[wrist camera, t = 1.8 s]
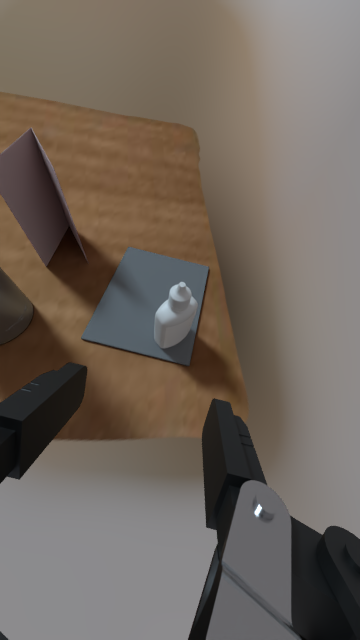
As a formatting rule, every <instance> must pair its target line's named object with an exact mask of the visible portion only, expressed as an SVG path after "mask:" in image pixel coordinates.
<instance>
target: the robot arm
mask: <svg viewBox="0 0 360 640" xmlns="http://www.w3.org/2000/svg"><path fill="white" fill-rule="evenodd" d="M32 316H33V306H32V303H31V302H30V300H29V299H28V298H27V297H26V296H25V294H24V293H23V292H22V291H21V290H20V289H19V288H18V287H17V286H16V284H15V283H14V282H13V281H12V280H11V279H10V278H9V276H8V275H7V274H6V273H5V272H4V271H3V270H2V269H1V268H0V344H3V343H6V342H8V341H10V340H12V339H13V338H15V337H17V336H18V335H19V334H20V333H22V332H23V331H24V330H25V329H26V327H27V326H28V325H29V323H30V321H31V319H32ZM86 376H87V367H86V366H83V365H79V364H75V363H71V362H69V363H67V364H66V365H65V366H63V367H62V368H61V369H59V370H58V371H56V370H52V371H50V372H47V373H44V374H42V375H40V376H38V377H37V378H35V379H34V380H33V381H31V383H28V384H27V385H25V386H24V387H22V389H20V390H18V391H17V392H15V393H14V394H12V395H11V396H10V397H8V398H7V399H5V400H4V401H2V402H1V403H0V483H1V482H2V481H3V480H4V479H5V478H6V477H11V478H15V479H20V478H21V477H22V476H23V475H24V473H25V472H26V471H27V470H28V469H29V467H30V466H31V465H32V464H33V463H34V461H35V460H36V459H37V458H38V456H39V455H40V454H41V453H42V452H43V450H44V449H45V448H46V447H47V445H48V444H49V443H50V442H51V441H52V440H53V438H54V437H55V436H56V435H57V433H58V432H59V431H60V430H61V429H62V427H63V426H64V425H65V424H66V423H67V421H68V420H69V419H70V418H71V417H72V415H73V414H74V413H75V412H76V410H77V409H78V408H79V406H80V404H81V402H82V400H83V397H84V391H85V383H86ZM202 451H203V471H204V488H205V489H204V491H205V511H206V527H207V528H211V529H215V530H217V539H218V544H217V546H216V549H215V551H214V555H213V558H212V561H211V565H210V568H209V572H208V575H207V578H206V581H205V585H204V588H203V592H202V595H201V598H200V601H199V605H198V608H197V611H196V615H195V618H194V621H193V625H192V628H191V631H190V634H189V638H188V640H360V539H359V538H357V537H356V536H355V535H354V534H352V533H350V532H349V531H347V530H345V529H344V528H340V527H338V526H330V527H328V528H327V529H326V530H325V532H324V534H323V535H321V534H319V533H318V532H316V531H315V530H313V529H311V528H309V527H308V526H306V525H305V524H303V523H301V522H299V521H298V520H296V519H295V518H293V517H292V516H290V514H289V512H288V509H287V508H286V505H285V504H284V502H283V501H282V499H281V498H280V497H279V496H278V495H277V493H276V492H275V491H274V490H272V489H271V488H270V487H268V486H267V483H266V480H265V477H264V474H263V471H262V468H261V466H260V463H259V460H258V457H257V454H256V451H255V448H254V445H253V443H252V440H251V437H250V434H249V431H248V428H247V426H246V424H245V423H244V422H243V420H242V419H241V418H240V417H239V416H235V415H233V411H232V408H231V404H230V402H226V401H222V400H218V399H213V400H212V402H211V405H210V408H209V411H208V414H207V417H206V420H205V423H204V427H203V432H202ZM0 640H8V639H7V638H6V637H5V636H4V635H3V634H2V633H1V632H0Z"/></svg>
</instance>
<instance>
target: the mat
mask: <svg viewBox="0 0 360 640" xmlns="http://www.w3.org/2000/svg"><path fill="white" fill-rule="evenodd" d="M208 269H209V267H207V266H203V265H199V264H195V263H191V262H187V261H183V260H179V259H175V258H171V257H167V256H163V255H159V254H155V253H151V252H147V251H143V250H139V249H135V248H131V247H128V249H127V251H126V253H125V254H124V256H123V258H122V260H121V262H120V264H119V266H118V268H117V270H116V272H115V274H114V276H113V277H112V279H111V281H110V283H109V285H108V287H107V289H106V291H105V293H104V295H103V297H102V299H101V301H100V302H99V304H98V306H97V308H96V310H95V312H94V314H93V316H92V318H91V320H90V322H89V324H88V325H87V327H86V329H85V331H84V333H83V335H82V337H81V339H83V340H87V341H91V342H95V343H99V344H103V345H107V346H111V347H115V348H119V349H123V350H127V351H131V352H135V353H139V354H143V355H147V356H151V357H155V358H159V359H162V360H166V361H170V362H174V363H178V364H182V365H186V366H189V365H190V360H191V355H192V350H193V345H194V339H195V334H196V329H197V324H198V319H199V314H200V309H201V304H202V299H203V294H204V289H205V284H206V279H207V274H208ZM180 282H184V283H185V284H186V286H187V287H188V288H189V289H190V290H191V293H192V297H193V298H194V299H195V300H196V301H197V303H198V308H197V311H196V314H195V317H194V320H193V322H192V325H191V328H190V331H189V333H188V334H187V336H186V337H185V338H184V339H183V340H182V341H181V342H179V343H178V344H176V345H174V346H172V347H169V348H161V347H160V346H159V345H158V344H157V343H156V341H155V339H154V325H155V314H156V312H157V310H158V309H159V307H160V306H161V305H162V304H163V303H164V302H165V301H166V300H168V299H169V292H170V289H171V288H172V287H173V286H175V285H178V284H179V283H180Z"/></svg>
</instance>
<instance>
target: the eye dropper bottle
mask: <svg viewBox="0 0 360 640" xmlns="http://www.w3.org/2000/svg"><path fill="white" fill-rule="evenodd" d="M197 308H198V303H197V301H196V300H195V299H194V298H193V297H192V293H191V290H190V289H189V288H188V287H187V286H186V284H185V283H184V282H180V283H179V284H178V285H175V286H173V287H172V288H171V289H170V292H169V299H168V300H166V301H165V302H164V303H163V304H162V305H161V306H160V307H159V309H158V310H157V312H156V314H155V325H154V339H155V341H156V343H157V344H158V345H159V346H160V347H161V348H169V347H172V346H174V345H176V344H178V343H179V342H181V341H182V340H183V339H184V338H185V337H186V336H187V334H188V333H189V331H190V328H191V325H192V322H193V320H194V317H195V314H196V311H197Z"/></svg>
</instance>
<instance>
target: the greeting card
mask: <svg viewBox="0 0 360 640" xmlns="http://www.w3.org/2000/svg"><path fill="white" fill-rule="evenodd" d="M0 194H1V195H2V197H3V198H4V200H5V202H6V203H7V205H8V206H9V208H10V210H11V211H12V213H13V214H14V216H15V218H16V219H17V221H18V223H19V224H20V226H21V227H22V229H23V231H24V232H25V234H26V235H27V237H28V239H29V240H30V242H31V243H32V245H33V247H34V248H35V250H36V251H37V253H38V255H39V256H40V258H41V259H42V261H43V263H44V264H45V266H46V267H47V265H48V263H49V261H50V259H51V258H52V256H53V254H54V252H55V250H56V249H57V247H58V245H59V243H60V241H61V240H62V238H63V236H64V234H65V232H66V231H67V229H68V227H69V226H70V228H71V230H72V232H73V234H74V236H75V238H76V240H77V242H78V244H79V246H80V248H81V250H82V252H83V254H84V256H85V258H86V255H85V252H84V250H83V247H82V244H81V241H80V239H79V236H78V233H77V230H76V228H75V225H74V222H73V220H72V217H71V214H70V211H69V209H68V206H67V203H66V200H65V198H64V195H63V192H62V189H61V187H60V184H59V181H58V178H57V176H56V173H55V170H54V168H53V166H52V164H51V163H50V161H49V159H48V157H47V155H46V154H45V152H44V150H43V148H42V146H41V144H40V143H39V141H38V139H37V137H36V135H35V134H34V132H33V130H32V128H30V129H29V130H27V131H26V132H25V133H24V134H23V135H22V136H21V137H19V138H18V139H17V140H16V141H15V142H14V143H13V144H11V145H10V146H9V147H8V148H7V149H6V150H5V151H3V152H2V153H1V154H0ZM86 260H87V258H86ZM87 262H88V261H87ZM88 264H89V263H88Z"/></svg>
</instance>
